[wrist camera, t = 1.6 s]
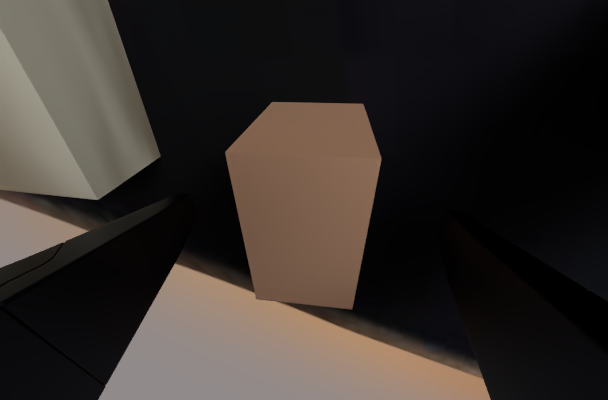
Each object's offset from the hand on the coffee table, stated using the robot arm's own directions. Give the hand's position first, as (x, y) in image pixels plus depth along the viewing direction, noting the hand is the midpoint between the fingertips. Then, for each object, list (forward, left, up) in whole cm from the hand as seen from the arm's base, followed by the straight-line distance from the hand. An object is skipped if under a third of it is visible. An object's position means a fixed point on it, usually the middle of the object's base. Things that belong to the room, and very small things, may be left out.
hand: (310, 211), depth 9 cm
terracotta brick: (0, 0, -3) cm, 3 cm away
